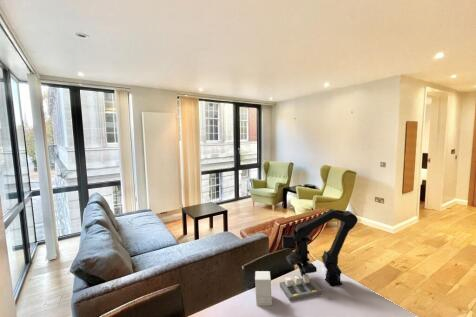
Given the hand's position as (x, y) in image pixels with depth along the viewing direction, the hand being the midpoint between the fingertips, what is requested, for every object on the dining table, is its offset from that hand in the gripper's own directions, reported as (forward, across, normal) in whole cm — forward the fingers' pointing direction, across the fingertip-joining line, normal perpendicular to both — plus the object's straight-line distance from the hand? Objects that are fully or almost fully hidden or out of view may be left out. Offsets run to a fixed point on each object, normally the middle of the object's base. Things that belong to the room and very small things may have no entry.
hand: (302, 276), depth 124 cm
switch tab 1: (+1, +4, -10) cm, 11 cm away
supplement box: (+3, +8, -25) cm, 27 cm away
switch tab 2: (+1, +4, -5) cm, 6 cm away
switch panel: (+3, +6, -5) cm, 8 cm away
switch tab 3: (+1, +4, 0) cm, 4 cm away
